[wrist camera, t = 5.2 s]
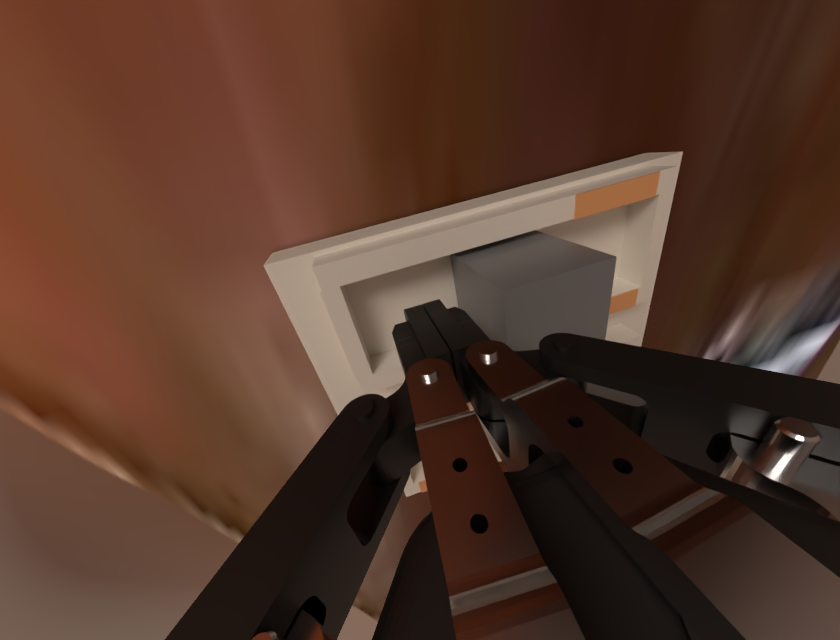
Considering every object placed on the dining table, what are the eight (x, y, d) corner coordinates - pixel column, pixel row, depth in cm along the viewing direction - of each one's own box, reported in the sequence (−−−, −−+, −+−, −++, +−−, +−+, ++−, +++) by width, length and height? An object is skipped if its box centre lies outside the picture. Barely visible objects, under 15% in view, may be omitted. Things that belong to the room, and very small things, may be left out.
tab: (449, 251, 13) (503, 291, 9) (529, 228, 14) (616, 256, 10) (461, 325, 15) (509, 387, 11) (530, 302, 16) (603, 353, 12)
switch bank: (272, 252, 14) (253, 278, 11) (645, 153, 16) (720, 150, 13) (371, 462, 22) (376, 512, 19) (610, 375, 24) (650, 406, 21)
